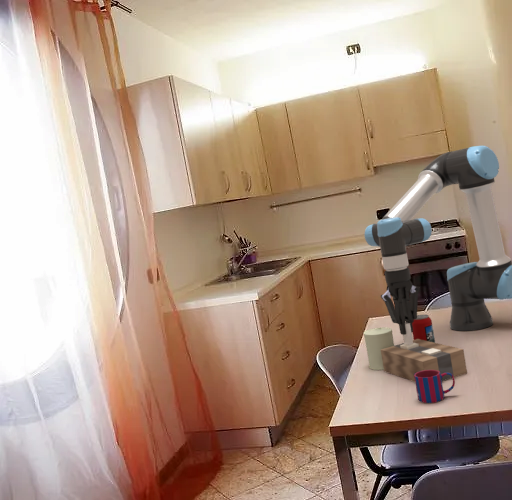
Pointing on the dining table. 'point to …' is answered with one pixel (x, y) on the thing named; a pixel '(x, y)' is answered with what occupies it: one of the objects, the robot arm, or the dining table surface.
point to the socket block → (423, 360)
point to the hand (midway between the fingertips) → (408, 343)
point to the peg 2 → (431, 351)
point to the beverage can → (423, 328)
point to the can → (377, 345)
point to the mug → (431, 385)
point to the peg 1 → (409, 346)
